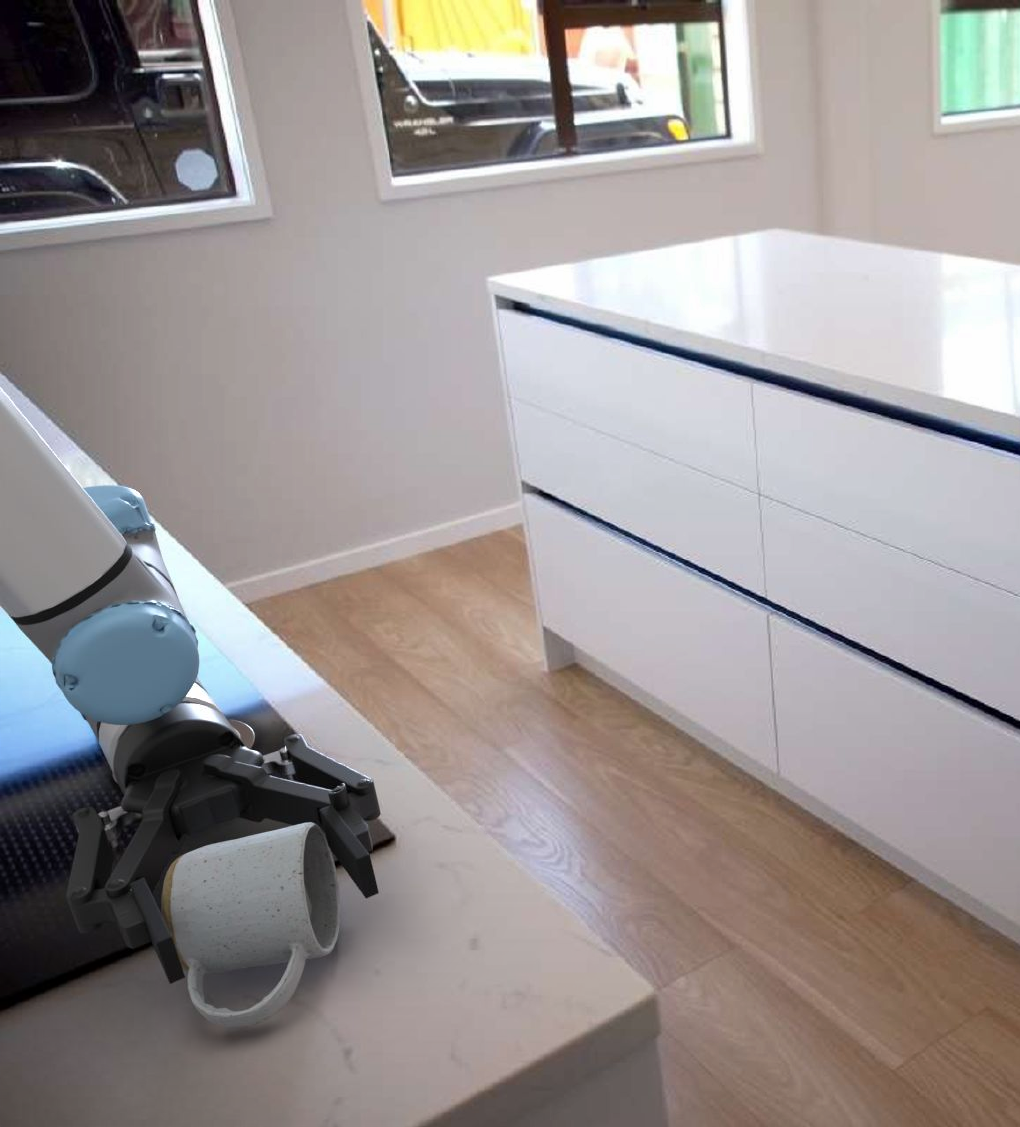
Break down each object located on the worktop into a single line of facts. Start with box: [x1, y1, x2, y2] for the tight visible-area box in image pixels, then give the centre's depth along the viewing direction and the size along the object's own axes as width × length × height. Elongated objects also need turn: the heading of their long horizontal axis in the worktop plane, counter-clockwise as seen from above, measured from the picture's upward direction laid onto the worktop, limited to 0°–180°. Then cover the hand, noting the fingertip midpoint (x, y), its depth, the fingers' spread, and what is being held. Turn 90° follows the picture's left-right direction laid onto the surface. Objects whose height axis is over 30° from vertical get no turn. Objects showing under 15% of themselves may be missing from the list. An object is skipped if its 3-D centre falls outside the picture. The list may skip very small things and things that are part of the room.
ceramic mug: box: [160, 822, 341, 1028], centre depth 73 cm, size 11×8×8 cm
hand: (273, 917), depth 70 cm, fingers closed on ceramic mug, 10 cm apart
